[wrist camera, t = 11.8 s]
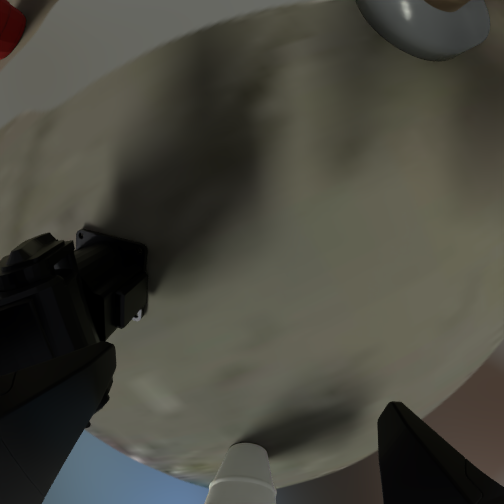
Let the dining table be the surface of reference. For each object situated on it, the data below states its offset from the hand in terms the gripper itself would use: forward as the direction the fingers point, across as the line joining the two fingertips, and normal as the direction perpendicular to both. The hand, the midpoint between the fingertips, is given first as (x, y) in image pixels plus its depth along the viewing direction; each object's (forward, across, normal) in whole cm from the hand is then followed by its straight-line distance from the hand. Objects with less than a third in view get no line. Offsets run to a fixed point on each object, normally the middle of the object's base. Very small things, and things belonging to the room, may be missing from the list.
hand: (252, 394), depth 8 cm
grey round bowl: (+13, -7, -22) cm, 27 cm away
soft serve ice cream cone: (+13, -3, +22) cm, 26 cm away
